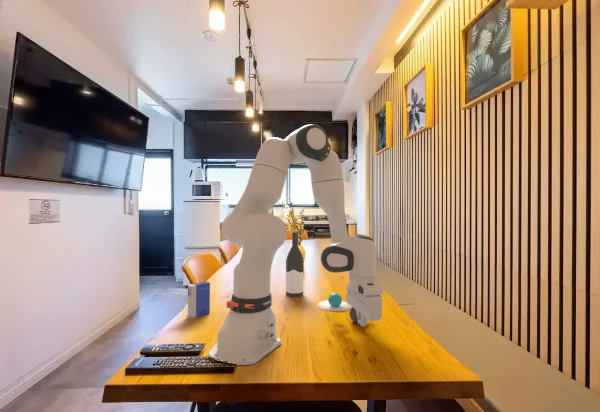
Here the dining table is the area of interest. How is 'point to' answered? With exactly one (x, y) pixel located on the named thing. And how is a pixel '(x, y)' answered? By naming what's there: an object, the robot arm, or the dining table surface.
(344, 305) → the cream mark
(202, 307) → the walkman
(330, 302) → the teal ball
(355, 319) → the gray ball
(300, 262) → the wine bottle
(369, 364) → the dining table surface
